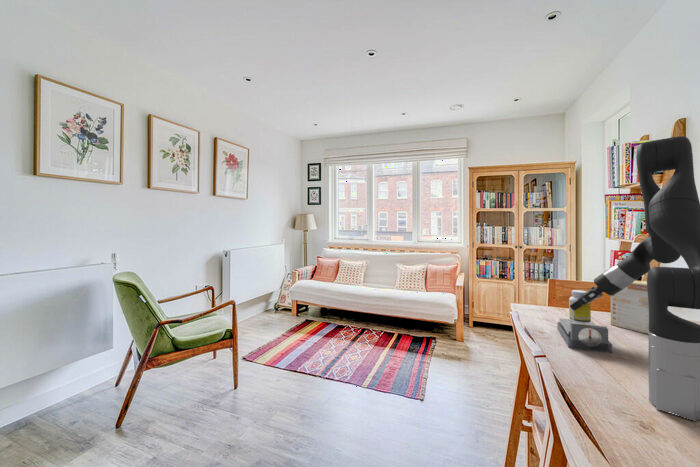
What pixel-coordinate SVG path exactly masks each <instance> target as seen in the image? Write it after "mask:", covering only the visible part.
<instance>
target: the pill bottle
mask: <svg viewBox="0 0 700 467" xmlns="http://www.w3.org/2000/svg"><path fill="white" fill-rule="evenodd" d="M586 292H587V291H586V290H581V289H573V290H571V295H572V296H570V297H569V299H568V304H569V305H568V306H569V307H568V310H569V311H568V312H569V319H570V320H571V321H573V322H577V323H590V322H591V321H592V318H591V313H592V312H591V311H592V309H591V302H590V303H589V302H588V303H587V304H586V305H583V306H581V307H580V308H578V309H577V310H575V311H574V310H573V309H572V308H571V307H570V305H572V304H573V303H575V302H576V301H578V299H580V298H581V297H582V295H583V294H585V293H586ZM582 300H583V301H584V302H587V300H586V299H585V298H583V299H582Z"/></svg>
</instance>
